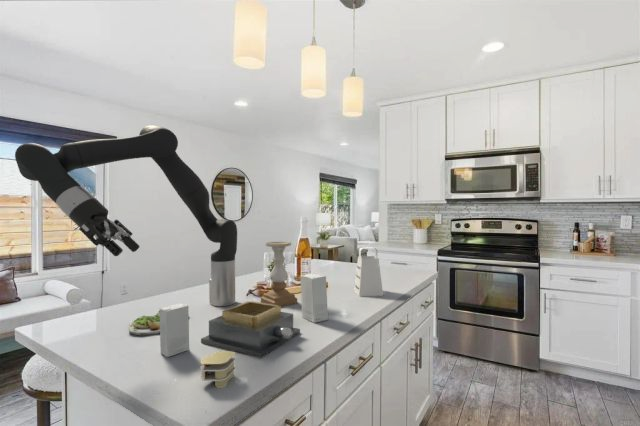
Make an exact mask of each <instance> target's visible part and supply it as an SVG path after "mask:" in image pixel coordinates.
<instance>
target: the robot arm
mask: <svg viewBox="0 0 640 426" xmlns="http://www.w3.org/2000/svg"><path fill="white" fill-rule="evenodd" d="M178 145H179V141H178V137H177V136H176V134H175V133H174V132H173V131H172V130H170V129H168V128H165V127H162V126H159V125H153V124H151V125H146V126H144V127H143V128H142V129H140V132H139V135H136V136H131V137H121V138H102V139H101V138H100V139H88V140H87V139H86V140H82V141H75V142H68V143H64V144H62V145H61V146H60V147H59V148H60V149H59V150H58V151H57V152H54V153H52V152H51V150H50V149H48V148H47V147H45V146H44V145H41V144H38V143H34V142H27V143H23V144H21V145H19V146H18V147H17V148H16V149H15V154H14V158H15V161H16V165H17V168H18V172H19V173H20V175H21V176H22V177H23V178H25V179H26V180H29V181H35V182H38V183H39V185H40V186H41V189H42V191H43V192H44V194H46V196H47V197H49V198H50V199H51V201H53V202H54V204H56V205H57V206H58V208H60V210H61V211H62V212H63V213H64V214H65V215H66V216H67V217H68V218H69V220H71V221H72V222H74V224H75V225H77V226H78V228H79V231H81V233H82V234H83V235H84V236H86V238H87V239H89V241H90V242H91V243H92V244H93V245H94V246H101V247H103V248H104V247H105V249H107V251H109V253H110V254H112V255H113V256H114V257H119V256H120V255H121V253H123V251H124V250H123V248H122V247H121V246H120V245H118V244H117V243H116V242H115V241H116V240H118V241H120V242H121V243H123V244H124V245H125V246H126V248H128V249H129V250H130V251H131V252H132V253H135V252H137V250H138V249H139V248H140V245H139V244H138V243H137V241H135V240H134V239H133V238H132V237H131V236H133V232H132V231H131V230H130V229H128V228H127V227H126V226H125V225H124V224H123V223H122V222H120V220H118V219H115V220H114V221H113V220H111V219H109V218H108V215H109V209H108V208H106V207H105V205H103V204H102V203H101V202H100V201H99V200H98V199H97V198H96V197H95V196H94V195H93V194H92V193H90V191H88V190H87V189H85V188H84V187H83V186H82V185H81V184H80V183H79V182H78V181H77V180H76V179H75V178H74V177H72V176H71V175H70V174H69V173H70V172H72V171H74V170H77V169H83V168H89V167H93V166H94V167H95V166H99V165H105V164H109V163H114V162H120V161H126V160H132V159H133V160H134V159H141V158H151V159H152V160H153V161H154V162H155V164H156V165H157V166H158V167H159V169H160V170H161V171H162V172H163V174H164V176H165V177H166V178H167V180H168V182H169V183H170V185H171V186H172V188H173V189H174V190H175V192H176V194H177V195H178V196H179V198H180V199H181V201H182V202H183V203H184V205H185V206H186V207H187V208H188V209H189V211H190V212H191V214H192V215H193V217H194V218H195V219H196V221H197V222H198V224H199V225H200V228H201V229H202V231H203V233H204V234H205V236H206V238H207V239H208V240H209V241H210V242H212V243H215V244H218V243H219V249H218V250H216V251H213V252H212V253H211V254H210V279H208V282H209V283H208V286H209V287H208V289H209V290H208V291H209V292H208V293H209V294H208V295H209V297H208V299H209V303H208V304H210V305H212V306H213V307H226V306H232V305H234V304H235V303H236V254H237V250H238V249H237V248H238V227H237V224H236V222H235V221H233V220H231V219H219V218H217V217H216V216H215V215H214V214H213V211H212V210H211V207H210V193H209V191H208V188H207V186H205V184H204V182H203V181H202V180H201V178H200V177H199V176H198V174H196V173H195V171H193V169H192V168H191V167H189V166H188V164H186V163H185V162H184V161H183V160H182V159H181V157H180V156H179V155H178V153H177V152H176V151H177V148H178Z"/></svg>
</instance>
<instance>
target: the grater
mask: <svg viewBox="0 0 640 426" xmlns="http://www.w3.org/2000/svg"><path fill="white" fill-rule="evenodd" d="M363 249H374V255H369V256H365V255H364V256H362V250H363ZM354 279H355V281H354V287H353V288H354V289H353V290H354V292H355V293H356V294H357V296H358V297H379V296H380V297H381V296H382V297H383V296H384V292H383V282H382V276H381V267H380V258H378V250H377V249H376V248H375V247H374V246H373V247H370V246H369V247H366V246H365V247H360V248H359V249H358V256H357V264H356V271H355V278H354Z"/></svg>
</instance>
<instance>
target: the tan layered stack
mask: <svg viewBox="0 0 640 426" xmlns="http://www.w3.org/2000/svg"><path fill="white" fill-rule="evenodd" d="M236 353H237V352H236V351H231V350H224V349H221V350H218V351H216V352H214V353H212V354H209V355H207V356H205V357H203V358H202V359H200V362H201V364H202V365H200V367H199V368H200V370H201V371H202V373H201V375H200V379H201V380H202V381H203V382H214V387H215V388H224V387H226V386H227V385H228V382H229V381H230V380H232V378H233V377H235V370H236V369H237V366H235V361H236V360H237V358H236V357H234V355H235V354H236Z"/></svg>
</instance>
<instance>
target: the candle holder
mask: <svg viewBox="0 0 640 426" xmlns="http://www.w3.org/2000/svg"><path fill="white" fill-rule="evenodd" d="M265 246H266V247H268V248H269V247H270V248H271V250H272V251H273V257H272V258H271V260H272V262H273V263H274V266H273V268H272V270H271V271H270V273H269V279H270V281H271V282H272V283H271V284H270V287H271V289H270V291H268V292H265V293H263V295H262V296H261V297H260V303H266V304H273V305H279V306H281V307H286V306H290V305H294V304H298V298H297V297H296V295H295V294H294V293H292V292H289V290H288V289H286V288H287V283H286V281H287V280H288V277H289V275H288V272H287V270H286V269H285V266H284V262H285V260H286V257H285V256H284V251H285V250H286V247H290V246H292V242H289V241H270V242H269V241H268V242H266V243H265Z"/></svg>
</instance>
